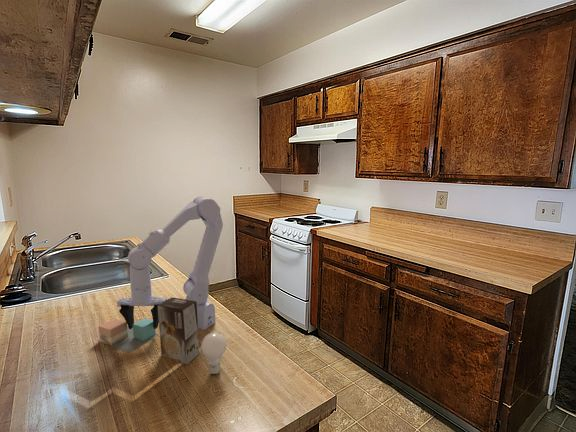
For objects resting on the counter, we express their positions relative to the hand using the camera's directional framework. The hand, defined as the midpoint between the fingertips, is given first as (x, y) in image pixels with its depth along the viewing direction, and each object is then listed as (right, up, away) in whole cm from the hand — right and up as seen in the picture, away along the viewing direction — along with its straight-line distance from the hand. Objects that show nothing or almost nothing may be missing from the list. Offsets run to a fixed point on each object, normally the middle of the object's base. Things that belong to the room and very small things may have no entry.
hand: (143, 327), depth 101 cm
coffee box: (+15, -5, -9) cm, 18 cm away
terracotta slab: (-9, -1, -2) cm, 9 cm away
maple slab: (-9, -3, -1) cm, 9 cm away
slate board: (-4, -4, -1) cm, 6 cm away
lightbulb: (+26, -7, -16) cm, 32 cm away
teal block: (0, -3, 0) cm, 3 cm away
